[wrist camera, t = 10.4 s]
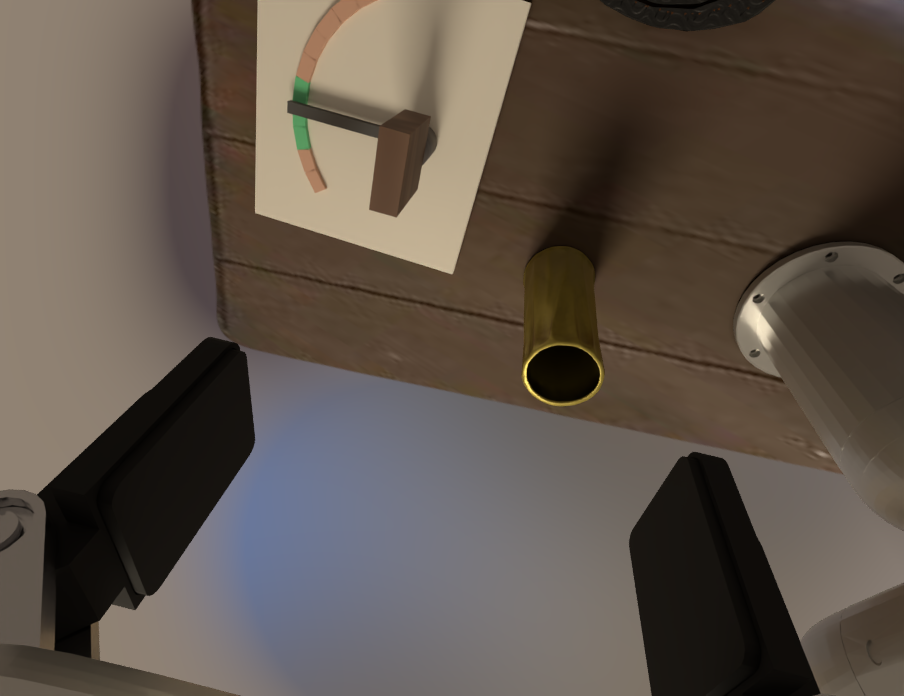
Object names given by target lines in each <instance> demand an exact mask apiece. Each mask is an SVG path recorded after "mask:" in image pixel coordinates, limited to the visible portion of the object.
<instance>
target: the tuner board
mask: <svg viewBox="0 0 904 696" xmlns="http://www.w3.org/2000/svg"><path fill="white" fill-rule="evenodd" d="M531 4H532V3H529V2H526V1H523V0H258V27H257V104H256V181H255V213H257V214H260V215H264V216H267V217H270V218H273V219H276V220H280V221H283V222H286V223H289V224H292V225H296V226H299V227H302V228H305V229H309V230H312V231H315V232H318V233H321V234H325V235H328V236H331V237H334V238H337V239H341V240H344V241H347V242H350V243H353V244H357V245H360V246H363V247H366V248H369V249H373V250H376V251H379V252H382V253H385V254H389V255H392V256H395V257H398V258H402V259H405V260H408V261H411V262H414V263H418V264H421V265H424V266H427V267H430V268H434V269H437V270H440V271H443V272H446V273H450V274H453V272H454V269H455V266H456V263H457V260H458V256H459V253H460V249H461V246H462V242H463V239H464V235H465V232H466V228H467V225H468V222H469V218H470V215H471V211H472V208H473V204H474V201H475V197H476V194H477V190H478V187H479V183H480V180H481V177H482V173H483V170H484V166H485V163H486V159H487V156H488V152H489V149H490V145H491V142H492V139H493V135H494V132H495V128H496V125H497V121H498V118H499V114H500V111H501V107H502V104H503V100H504V97H505V94H506V90H507V87H508V83H509V80H510V76H511V73H512V69H513V66H514V62H515V59H516V56H517V52H518V49H519V45H520V42H521V38H522V35H523V31H524V28H525V24H526V21H527V17H528V14H529V11H530V7H531ZM289 100H293V101H296V102H300V103H303V104H307V105H311V106H314V107H318V108H321V109H325V110H328V111H332V112H335V113H339V114H342V115H346V116H350V117H353V118H357V119H360V120H364V121H367V122H371V123H374V124H378V125H382V124H383V123H385V122H386V121H388V120H389V119H391V118H392V117H394V116H395V115H397V114H398V113H400V112H401V111H403V110H404V109H407V110H410V111H414V112H417V113H421V114H425V115H428V116H431V120H430V125H429V127H430V128H431V129H432V130H433V131H434V132H435V134H436V137H437V147H436V150H435V151H434V153H433V154H432V155H431V156H430V158H429V159H428V160H427V161H426V162H425V164H424V165H422V169H421V174H420V179H419V185H418V190H417V191H416V192H415V194H414V195H413V196H412V198H411V199H410V200H409V202H408V203H407V204H406V206H405V207H404V208H403V210H402V211H401V212H400V214H399V215H398V216H397V218H396V217H393V216H389V215H386V214H382V213H378V212H375V211H371V210H369V205H370V197H371V190H372V182H373V174H374V166H375V158H376V150H377V142H378V138H375V137H371V136H367V135H364V134H360V133H357V132H353V131H350V130H346V129H343V128H339V127H336V126H332V125H328V124H325V123H321V122H318V121H314V120H311V119H307V118H304V117H300V116H297V115H293V114H289V113H287V101H289Z"/></svg>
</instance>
